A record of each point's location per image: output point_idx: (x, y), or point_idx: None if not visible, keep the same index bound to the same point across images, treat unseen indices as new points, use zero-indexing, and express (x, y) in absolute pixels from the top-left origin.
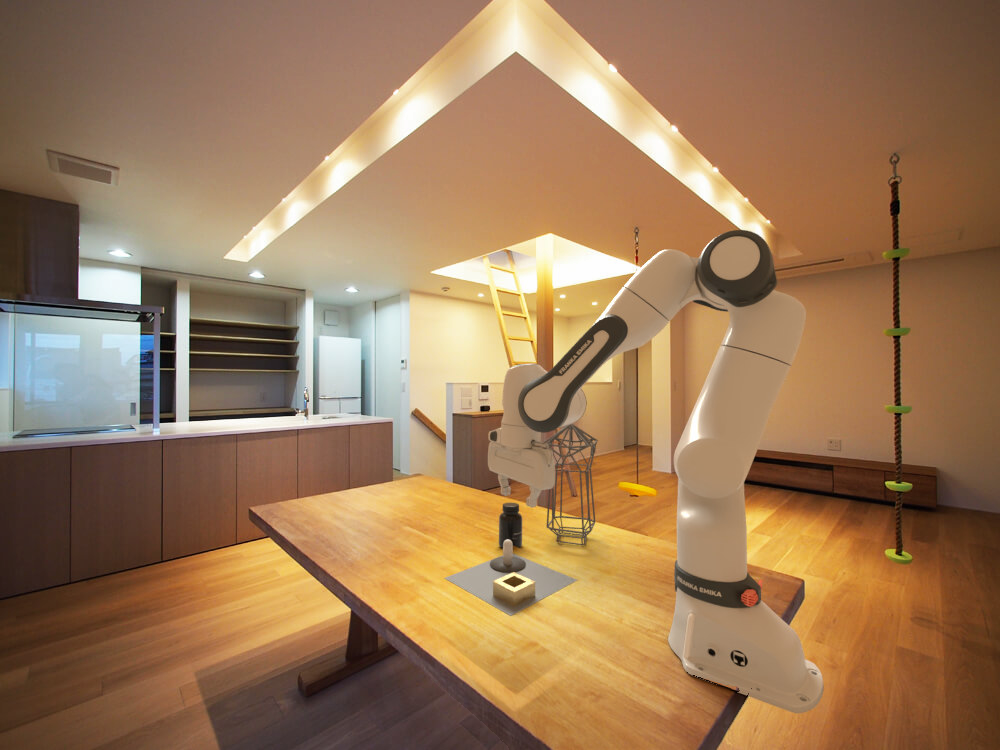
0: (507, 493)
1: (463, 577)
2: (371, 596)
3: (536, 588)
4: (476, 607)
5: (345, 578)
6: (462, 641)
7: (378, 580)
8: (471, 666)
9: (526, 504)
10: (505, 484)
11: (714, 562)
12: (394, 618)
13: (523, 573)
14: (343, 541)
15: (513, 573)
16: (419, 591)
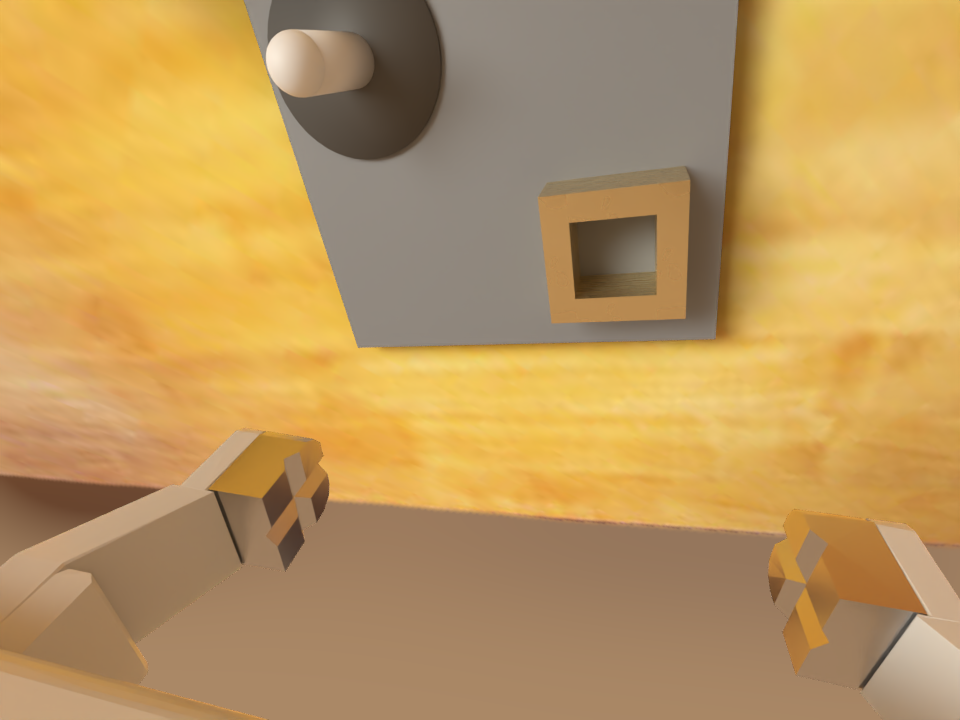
0: (308, 475)
1: (383, 298)
2: (349, 486)
3: (637, 108)
4: (551, 344)
5: None
6: (669, 462)
7: None
8: (769, 502)
9: (776, 585)
10: (195, 546)
11: None
12: (471, 501)
13: (475, 54)
14: (11, 398)
15: (547, 208)
16: (375, 405)
